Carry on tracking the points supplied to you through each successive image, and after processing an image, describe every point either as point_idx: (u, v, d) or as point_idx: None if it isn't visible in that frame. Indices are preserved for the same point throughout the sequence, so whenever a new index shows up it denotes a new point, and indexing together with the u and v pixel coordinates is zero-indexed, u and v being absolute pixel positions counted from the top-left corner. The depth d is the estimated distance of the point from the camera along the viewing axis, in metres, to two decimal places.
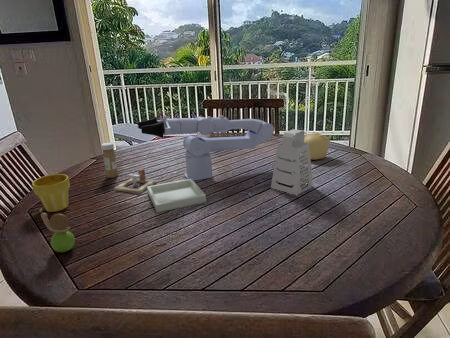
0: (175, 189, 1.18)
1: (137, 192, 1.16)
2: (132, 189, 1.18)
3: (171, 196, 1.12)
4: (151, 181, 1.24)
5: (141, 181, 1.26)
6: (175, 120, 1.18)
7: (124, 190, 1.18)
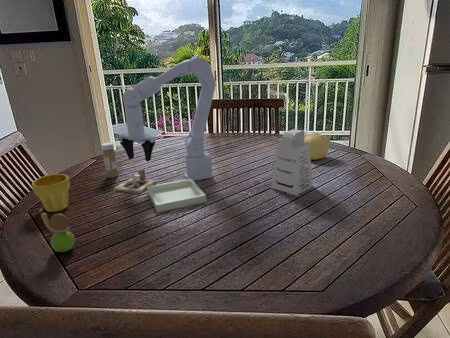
0: (175, 189, 1.18)
1: (137, 192, 1.16)
2: (132, 189, 1.18)
3: (171, 196, 1.12)
4: (151, 181, 1.24)
5: (141, 181, 1.26)
6: (134, 128, 1.16)
7: (124, 190, 1.18)
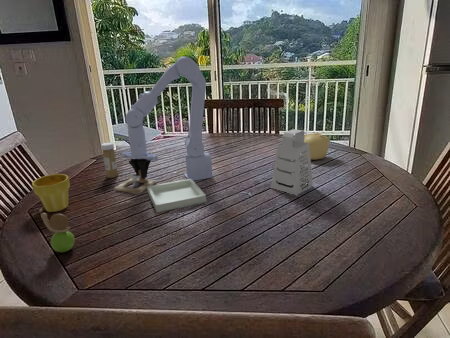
0: (175, 189, 1.18)
1: (137, 192, 1.16)
2: (132, 189, 1.18)
3: (171, 196, 1.12)
4: (151, 181, 1.24)
5: (141, 181, 1.26)
6: (137, 148, 1.19)
7: (124, 190, 1.18)
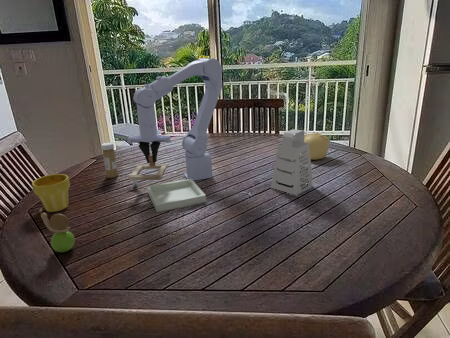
0: (175, 189, 1.18)
1: (158, 178, 1.11)
2: (151, 176, 1.11)
3: (171, 196, 1.12)
4: (164, 165, 1.19)
5: (152, 167, 1.19)
6: (149, 129, 1.12)
7: (142, 178, 1.11)
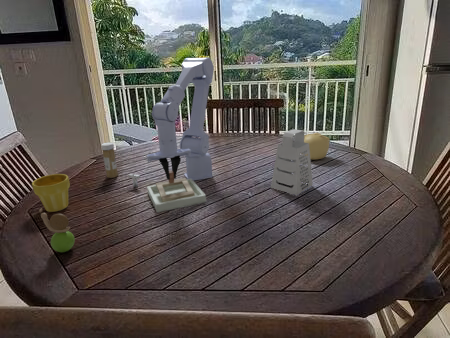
0: (175, 189, 1.18)
1: (193, 194, 1.09)
2: (184, 193, 1.09)
3: None
4: (184, 180, 1.16)
5: (172, 184, 1.15)
6: (173, 144, 1.09)
7: (176, 198, 1.07)
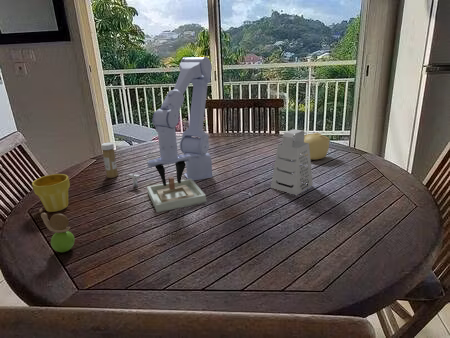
0: None
1: None
2: (185, 197, 1.09)
3: (171, 196, 1.12)
4: (184, 186, 1.17)
5: (173, 190, 1.15)
6: (174, 150, 1.09)
7: None
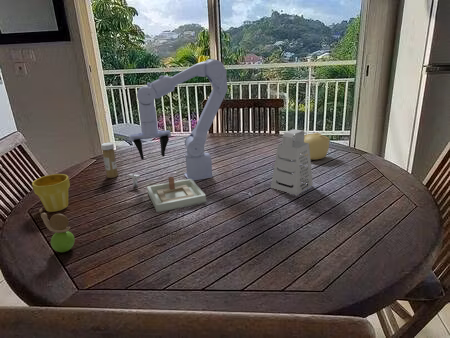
0: None
1: None
2: (185, 197, 1.09)
3: (171, 196, 1.12)
4: (184, 186, 1.17)
5: (173, 190, 1.15)
6: (154, 125, 1.18)
7: None
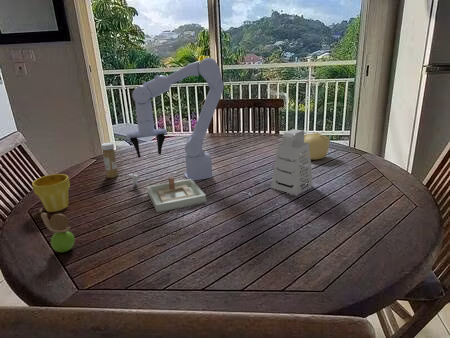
0: None
1: None
2: (185, 197, 1.09)
3: (171, 196, 1.12)
4: (184, 186, 1.17)
5: (173, 190, 1.15)
6: (150, 124, 1.20)
7: None
